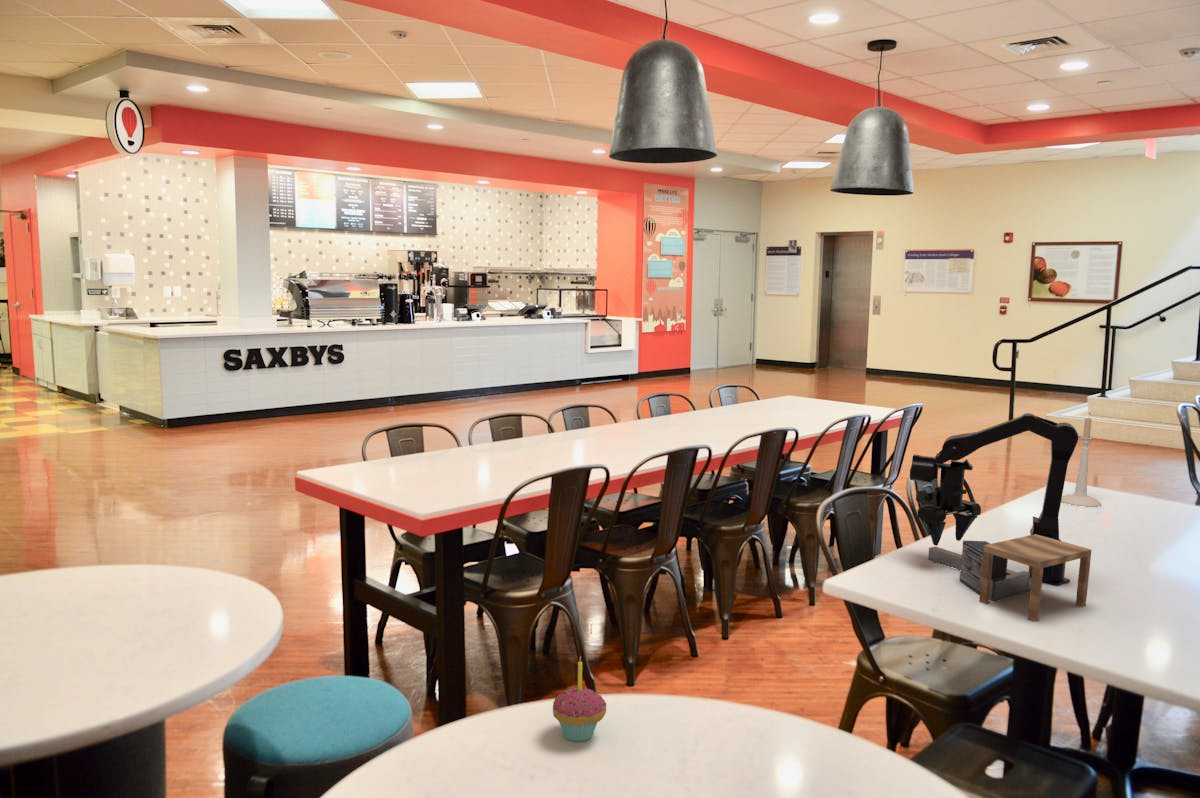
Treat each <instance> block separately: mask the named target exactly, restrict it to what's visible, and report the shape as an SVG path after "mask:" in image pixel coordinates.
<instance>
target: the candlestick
mask: <svg viewBox="0 0 1200 798" xmlns="http://www.w3.org/2000/svg"><path fill="white" fill-rule="evenodd" d="M1091 428H1092V418H1090V417H1088V418H1084V425H1083V433H1082V436H1080V439H1081V443H1082V447H1081V452H1080V460H1079V464H1078V465H1079V466H1078V472H1077V477H1076V484H1075V488H1074V490H1075V491H1074V493H1071V494H1070V493H1069V494H1064V495H1062V499H1061V503H1062V502H1064V503H1067V504H1066V505H1068V504H1071V505H1070V506H1072V505H1077V506H1076V507H1078V506H1085V507H1084V508H1088V507H1095V508H1099V507H1098V506H1100V507H1102V502H1100V501H1099V500H1098V499H1096V498H1095V497H1092V496H1089V495H1088V468H1089V467H1088V466H1089V446H1090V445H1089V444H1091V440H1092V439H1093V438H1092V437H1091ZM1064 503H1063V504H1064Z"/></svg>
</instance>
